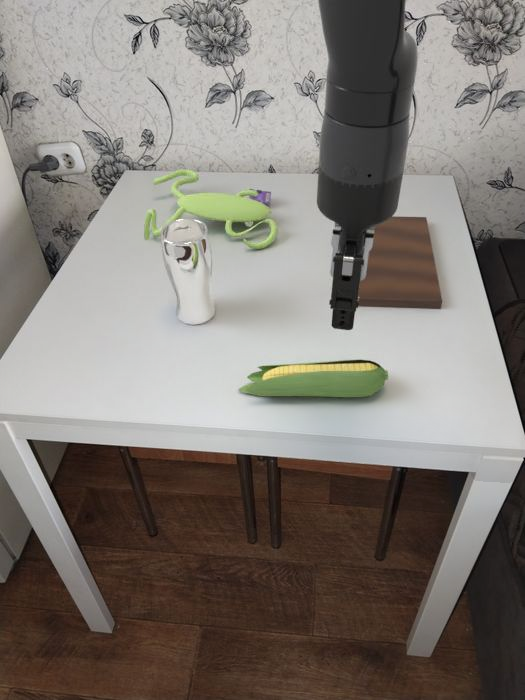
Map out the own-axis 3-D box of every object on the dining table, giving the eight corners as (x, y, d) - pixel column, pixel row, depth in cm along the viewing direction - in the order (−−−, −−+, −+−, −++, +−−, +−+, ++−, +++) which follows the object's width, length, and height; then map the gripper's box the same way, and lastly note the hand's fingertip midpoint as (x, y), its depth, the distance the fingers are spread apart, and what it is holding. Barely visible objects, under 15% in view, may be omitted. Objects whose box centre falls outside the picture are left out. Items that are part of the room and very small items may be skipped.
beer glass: (216, 326, 90) (206, 244, 80) (171, 327, 90) (155, 245, 80) (219, 297, 95) (210, 216, 84) (176, 298, 95) (162, 217, 85)
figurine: (164, 189, 121) (160, 163, 117) (292, 200, 116) (292, 174, 112) (129, 238, 108) (123, 212, 104) (271, 254, 103) (270, 226, 99)
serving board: (440, 308, 91) (442, 301, 90) (349, 305, 92) (350, 298, 91) (425, 224, 108) (426, 216, 107) (348, 222, 109) (348, 215, 108)
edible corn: (388, 402, 78) (392, 379, 75) (237, 406, 78) (235, 383, 75) (382, 374, 82) (386, 350, 79) (238, 377, 82) (236, 354, 79)
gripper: (401, 206, 47) (377, 351, 58) (407, 128, 56) (385, 265, 68) (307, 198, 48) (301, 341, 59) (328, 122, 58) (320, 258, 69)
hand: (346, 300), depth 64 cm, fingers open, 8 cm apart
